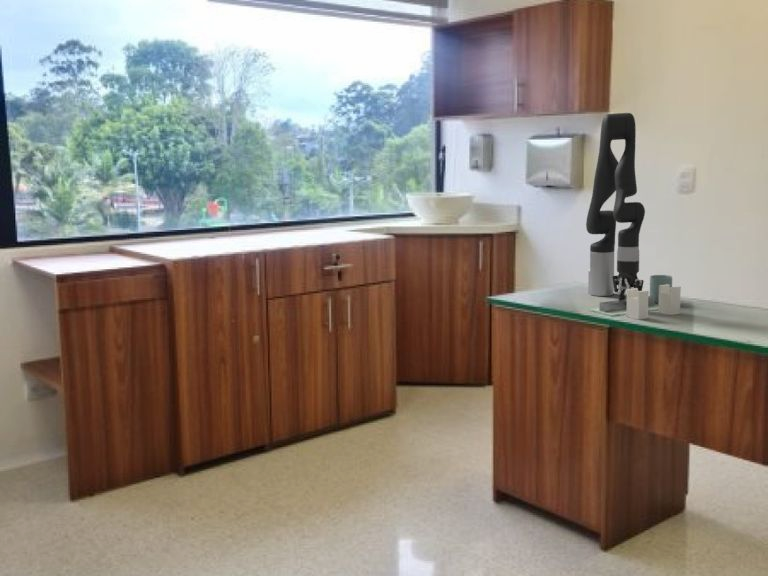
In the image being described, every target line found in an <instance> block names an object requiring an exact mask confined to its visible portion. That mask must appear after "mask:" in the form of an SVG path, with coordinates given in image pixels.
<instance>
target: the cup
mask: <svg viewBox="0 0 768 576" xmlns="http://www.w3.org/2000/svg"><path fill="white" fill-rule="evenodd" d="M666 284H669V285H670V287H673V276H672V275H669V274H667V275H666V274H652V275H650V277H649V297H654V304H657V305H659V285H666Z"/></svg>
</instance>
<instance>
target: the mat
mask: <svg viewBox="0 0 768 576" xmlns="http://www.w3.org/2000/svg"><path fill="white" fill-rule="evenodd" d="M588 311H589V312H593V313H597V314H601V315H604V316H607V317H608V316H609V317H617V316H623V315H625V316H626V310H619V311H612V312H601V311H599V307H595V308H589V309H588ZM651 311H652V312H653V311H658V304H657V305H655V304H654V306H649V307H648V312H651Z"/></svg>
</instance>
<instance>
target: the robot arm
mask: <svg viewBox="0 0 768 576" xmlns="http://www.w3.org/2000/svg"><path fill="white" fill-rule="evenodd" d="M636 127H637V126H636V120H635V117H634V115H633V114H632V113H631V112H622V113H621V112H620V113H619V112H618V113H607V114H605V115H604V116H603V118H602V120H601V125H600V139H599V151H598V156H597V162H596V168H595V171H594V178H593V179H594V180H593V187H592V195H591V198H590V199H591V200H590V204H589V207H588V211H587V215H586V221H585V223H586V224H585V226H586V231H587V233H588V234H589V235H604V236H603V238H601V239H600V240H598V241H595V242H593V243H591V244H590V246H589V249H590V251H589V258H590V259H589V269H588V281H587V283H588V289H587V290H588V294H590V295H591V296H596V297H597V296H598V297H609V296H613V294H614V293H617V295H618V300H624V299H626V293H627V289H634V288H638V291H643V287H644V282H645V281H644V280H643V279H640V278H639V277H638V273H639V272H640V249H639V246H640V243H639V242H640V232H641V229H642V224H643V222H644V219H645V213H646V209H645V206H644V205H643V203H641V202H638V201H634V202H629V201H628V202H626V201H625V200H626V198H630V197H633V196H635V195H636V194H637V192H638V187H637V178H636V165H635V164H636V162H635V161H636V133H637V130H636ZM616 140H617V141H618V140H624V141H625V143H624V144H625V145H624V151H623V153H622V155H621V158H620V159H619V161H618V158H617V157H616V156H615V154H614V152H613V150H612V146H611V145H612V144H611V143H612V141H616ZM614 193H615V199H614V200H615V201H614V205H613V209H611V210H610V209H609V210H608V209H607V210H601V209H602V207H603V205H604V204H605V203H606V202H607V201H608V200H609V199H610V198H611V197H612V196H613V194H614ZM617 223H620V224H626V223H630V226H629V227H627V228H624V229H623V228H622V229H621V230H619V231H618V234H617V252H616V272H617V273H618V275H615V248H616V247H615V245H616V230H617V229H616V228H617ZM614 295H615V294H614Z"/></svg>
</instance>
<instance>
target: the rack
mask: <svg viewBox="0 0 768 576" xmlns="http://www.w3.org/2000/svg"><path fill="white" fill-rule="evenodd" d="M681 290H682V289H681V286H679V285H678V286H677V285H676V286H672V287H670V285H669V284H666V285H659V304H657V306H658V310H657V311H658V313H660V314H664V315H669V316H673V315H674V316H675V315H679V314H681ZM648 296H649V290H647V289H646V290H642V291H638V288H634V289H626V299H627V309H626V314H625V316H626V317H627V318H630V319H634V320H646V319H649V311H648Z"/></svg>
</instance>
